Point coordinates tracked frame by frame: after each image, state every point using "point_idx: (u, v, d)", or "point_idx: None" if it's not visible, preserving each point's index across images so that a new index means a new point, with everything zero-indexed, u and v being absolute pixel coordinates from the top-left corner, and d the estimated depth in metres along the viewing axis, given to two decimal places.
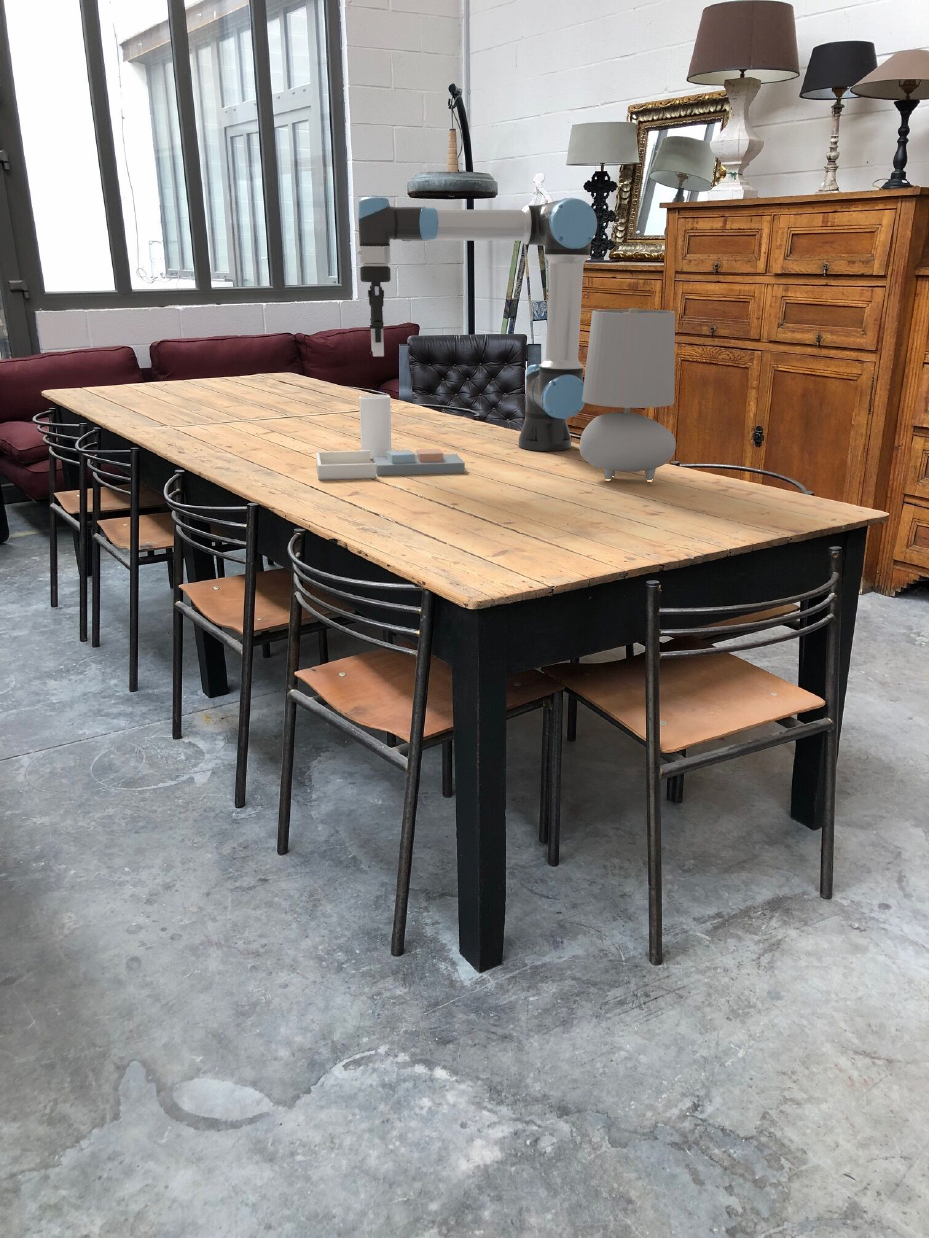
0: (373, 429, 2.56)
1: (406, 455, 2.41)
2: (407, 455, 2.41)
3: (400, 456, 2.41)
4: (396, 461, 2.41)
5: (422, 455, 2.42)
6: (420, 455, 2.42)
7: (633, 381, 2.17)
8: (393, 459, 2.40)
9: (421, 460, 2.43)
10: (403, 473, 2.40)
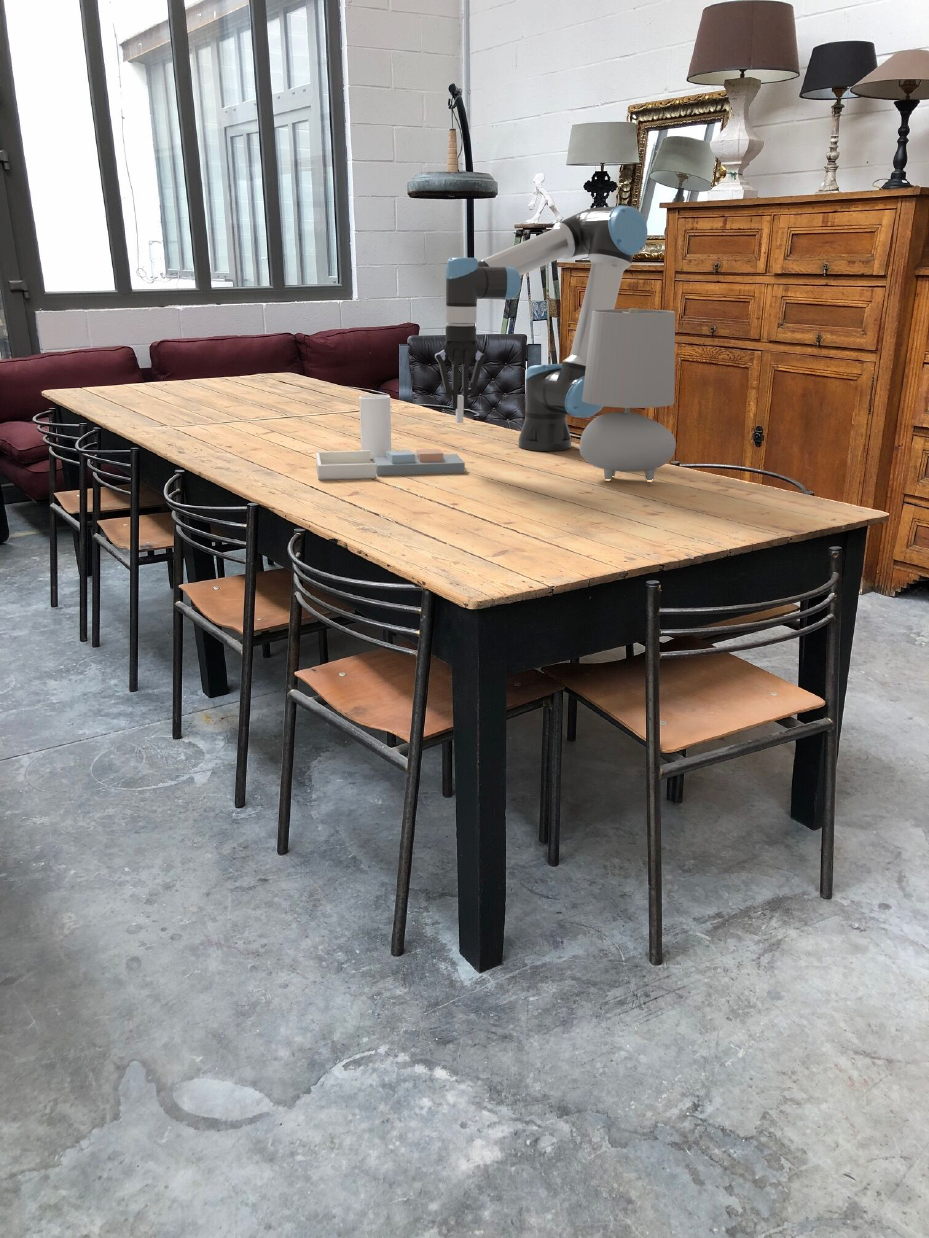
0: (373, 429, 2.56)
1: (406, 455, 2.41)
2: (407, 455, 2.41)
3: (400, 456, 2.41)
4: (396, 461, 2.41)
5: (422, 455, 2.42)
6: (420, 455, 2.42)
7: (633, 381, 2.17)
8: (393, 459, 2.40)
9: (421, 460, 2.43)
10: (403, 473, 2.40)
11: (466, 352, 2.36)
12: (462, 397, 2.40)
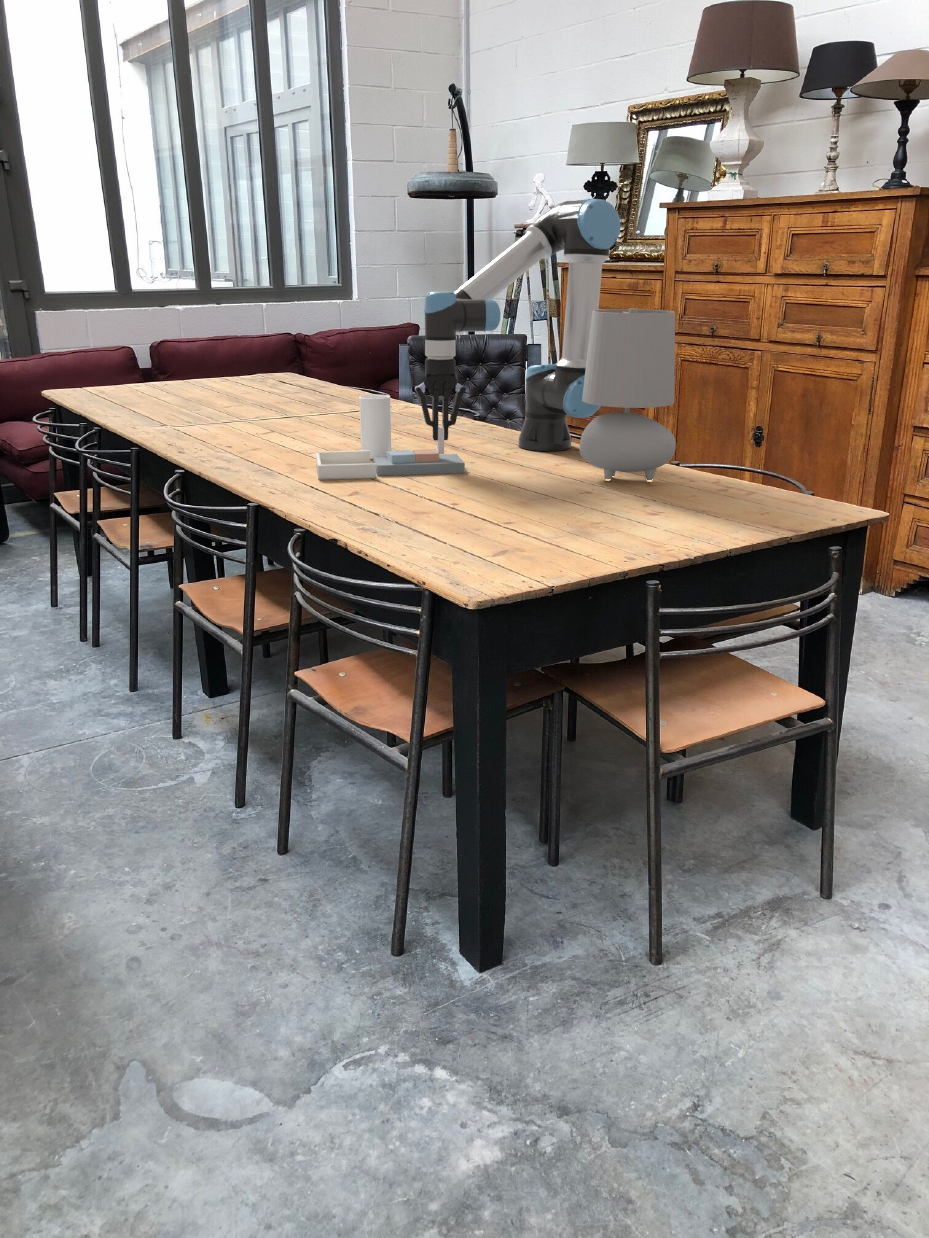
0: (373, 429, 2.56)
1: (406, 455, 2.41)
2: (407, 455, 2.41)
3: (400, 456, 2.41)
4: (396, 461, 2.41)
5: (418, 455, 2.42)
6: (416, 455, 2.42)
7: (633, 381, 2.17)
8: (393, 459, 2.40)
9: (417, 460, 2.42)
10: (403, 473, 2.40)
11: (446, 385, 2.38)
12: (442, 429, 2.42)
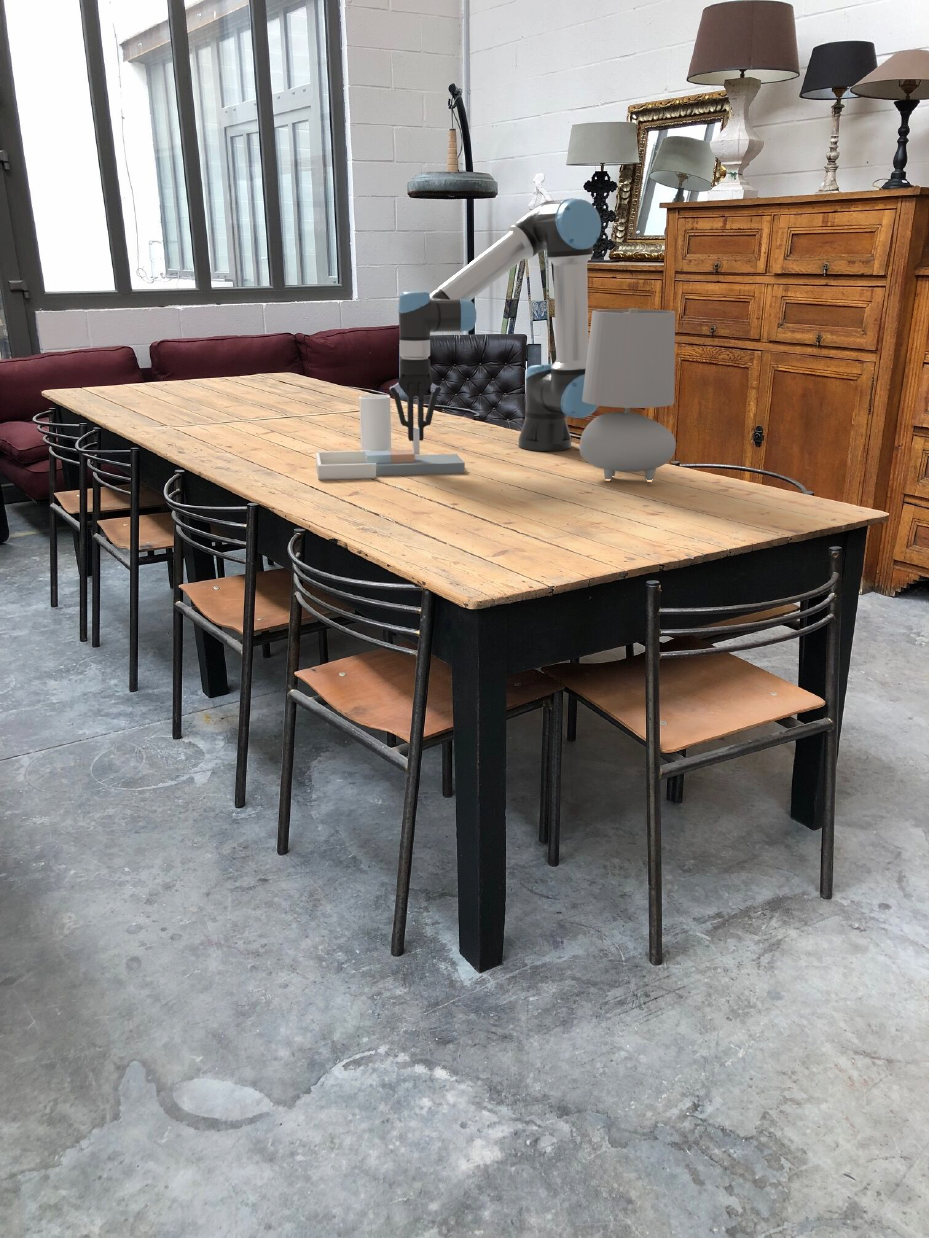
0: (373, 429, 2.56)
1: (381, 456, 2.40)
2: (382, 456, 2.40)
3: (375, 456, 2.40)
4: (371, 461, 2.40)
5: (393, 456, 2.41)
6: (391, 456, 2.41)
7: (633, 381, 2.17)
8: (368, 459, 2.40)
9: (392, 461, 2.41)
10: (403, 473, 2.40)
11: (420, 385, 2.37)
12: (418, 429, 2.41)
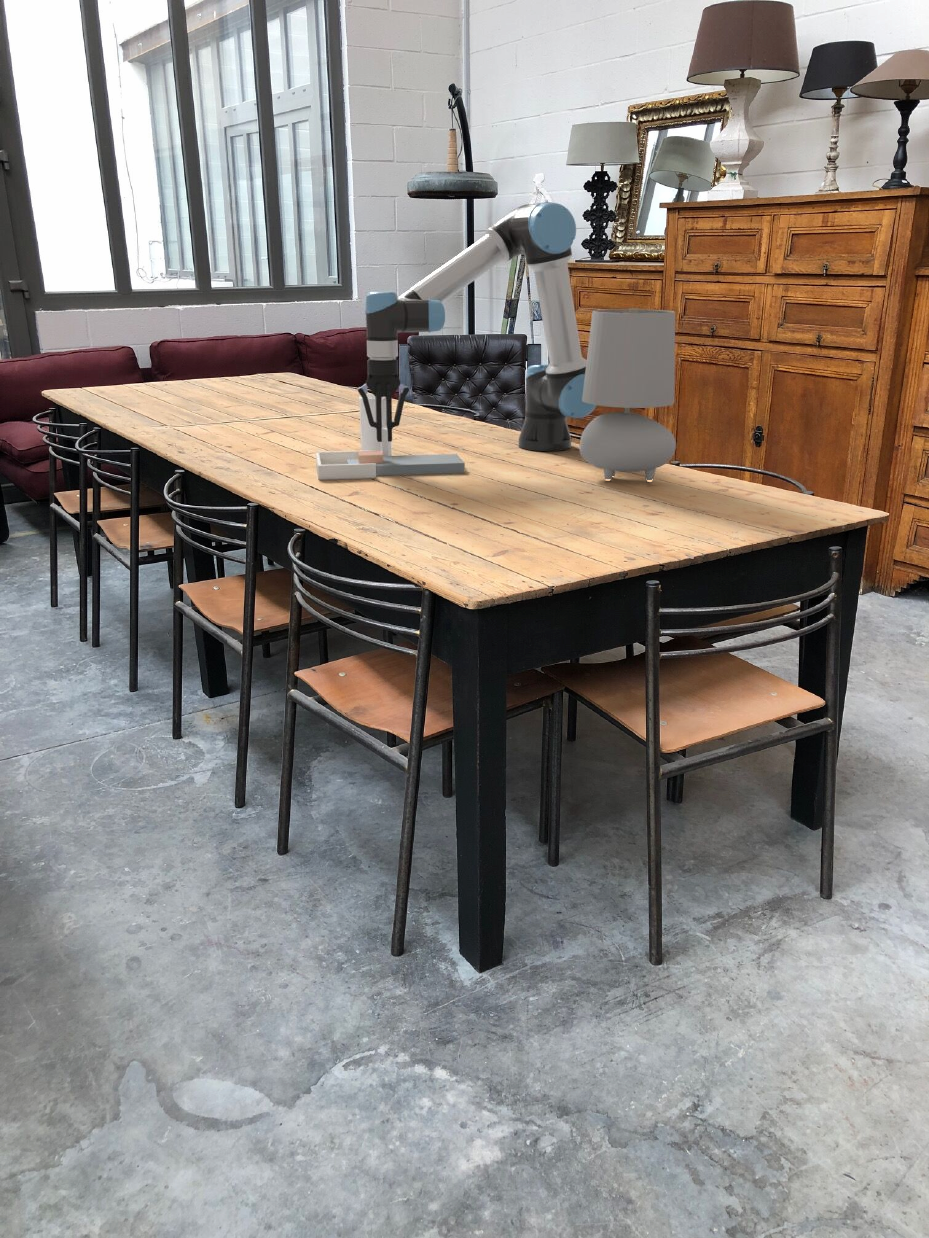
0: (373, 429, 2.56)
1: None
2: None
3: None
4: None
5: (361, 457, 2.40)
6: (359, 457, 2.40)
7: (633, 381, 2.17)
8: None
9: (361, 462, 2.40)
10: (403, 473, 2.40)
11: (388, 385, 2.36)
12: (386, 430, 2.40)
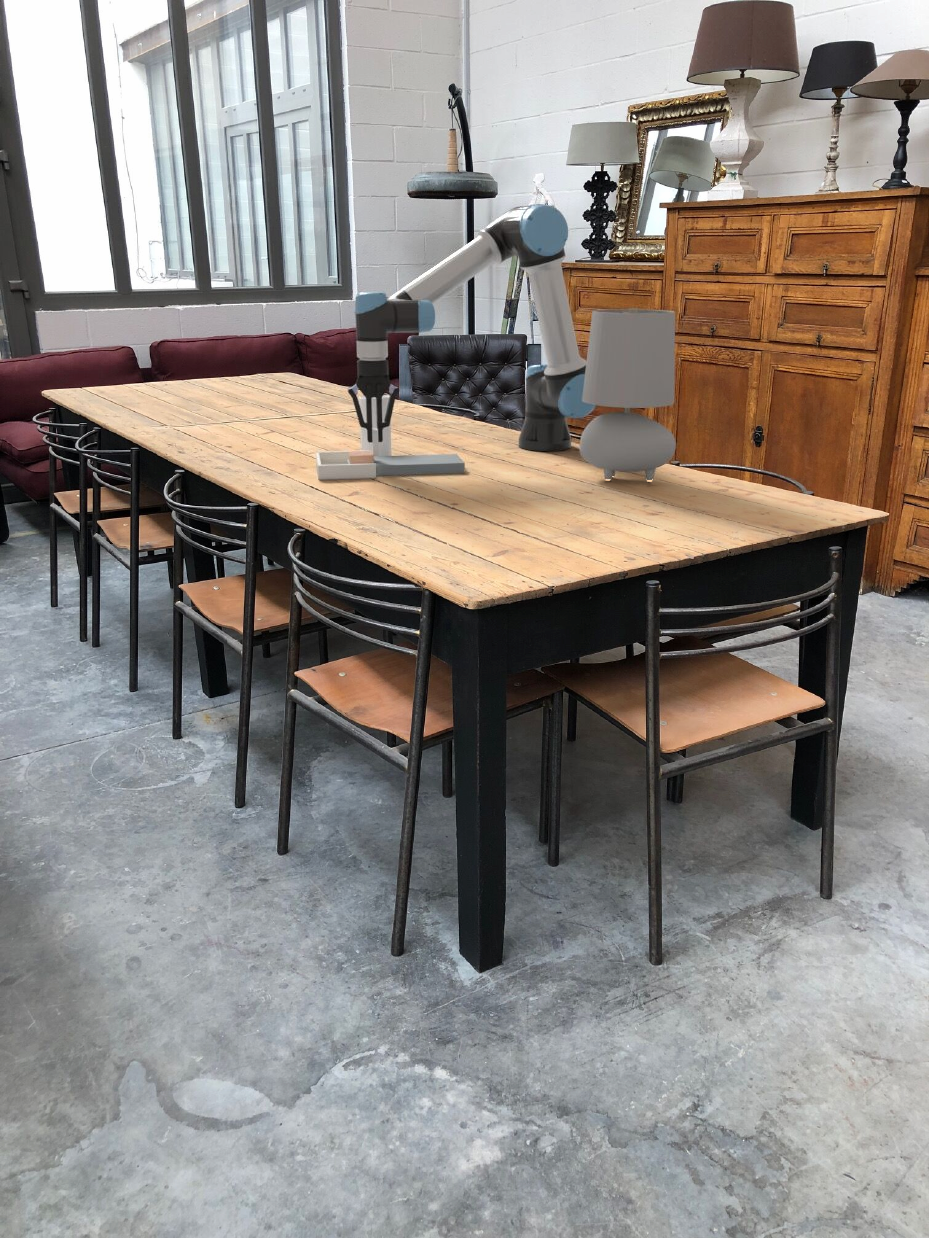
0: None
1: None
2: None
3: None
4: None
5: (352, 457, 2.39)
6: (350, 457, 2.39)
7: (633, 381, 2.17)
8: None
9: (351, 462, 2.40)
10: (403, 473, 2.40)
11: (378, 386, 2.35)
12: (376, 431, 2.40)
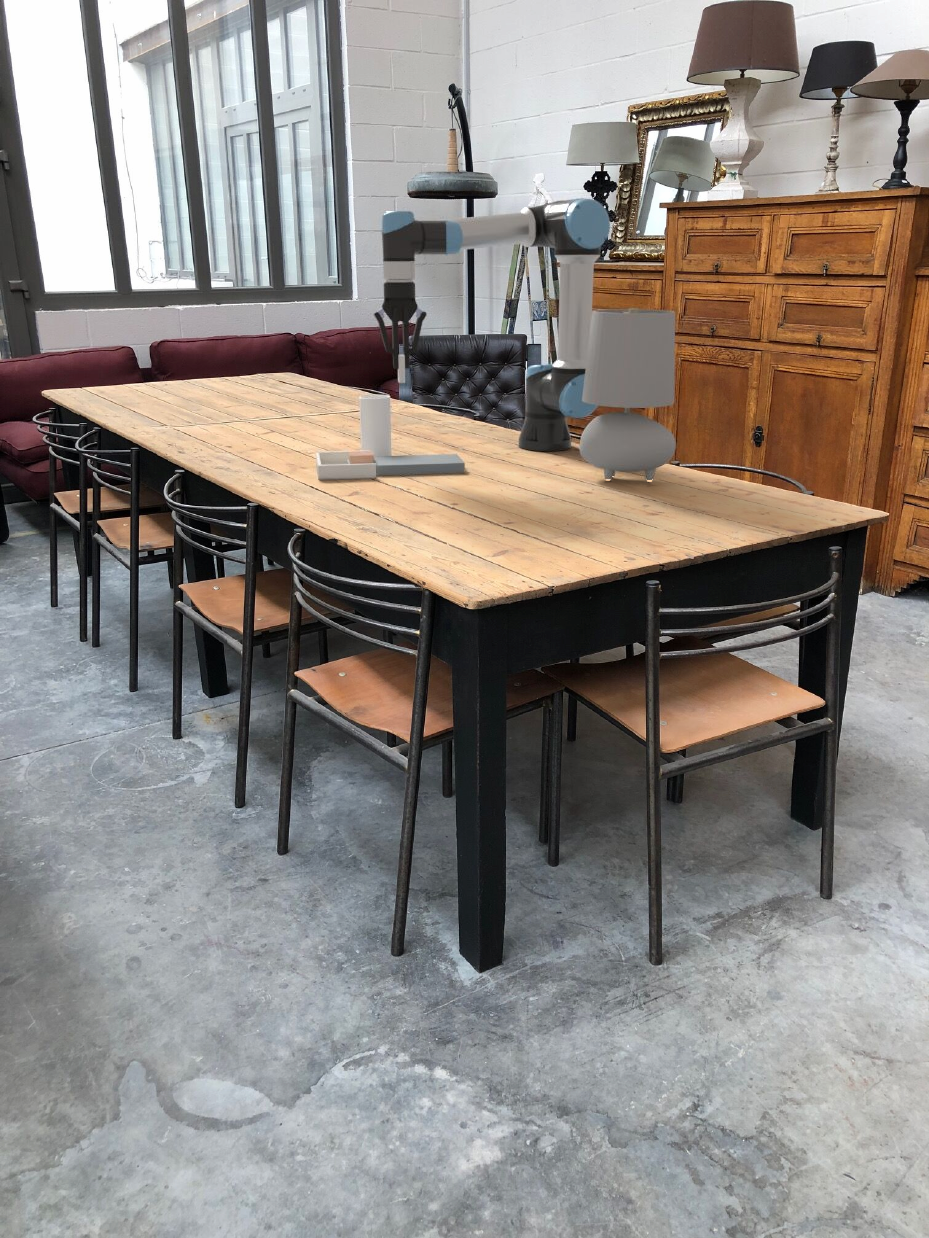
0: (373, 429, 2.56)
1: None
2: None
3: None
4: None
5: (352, 457, 2.39)
6: (350, 457, 2.39)
7: (633, 381, 2.17)
8: None
9: (351, 462, 2.40)
10: (403, 473, 2.40)
11: (405, 309, 2.30)
12: (403, 356, 2.35)
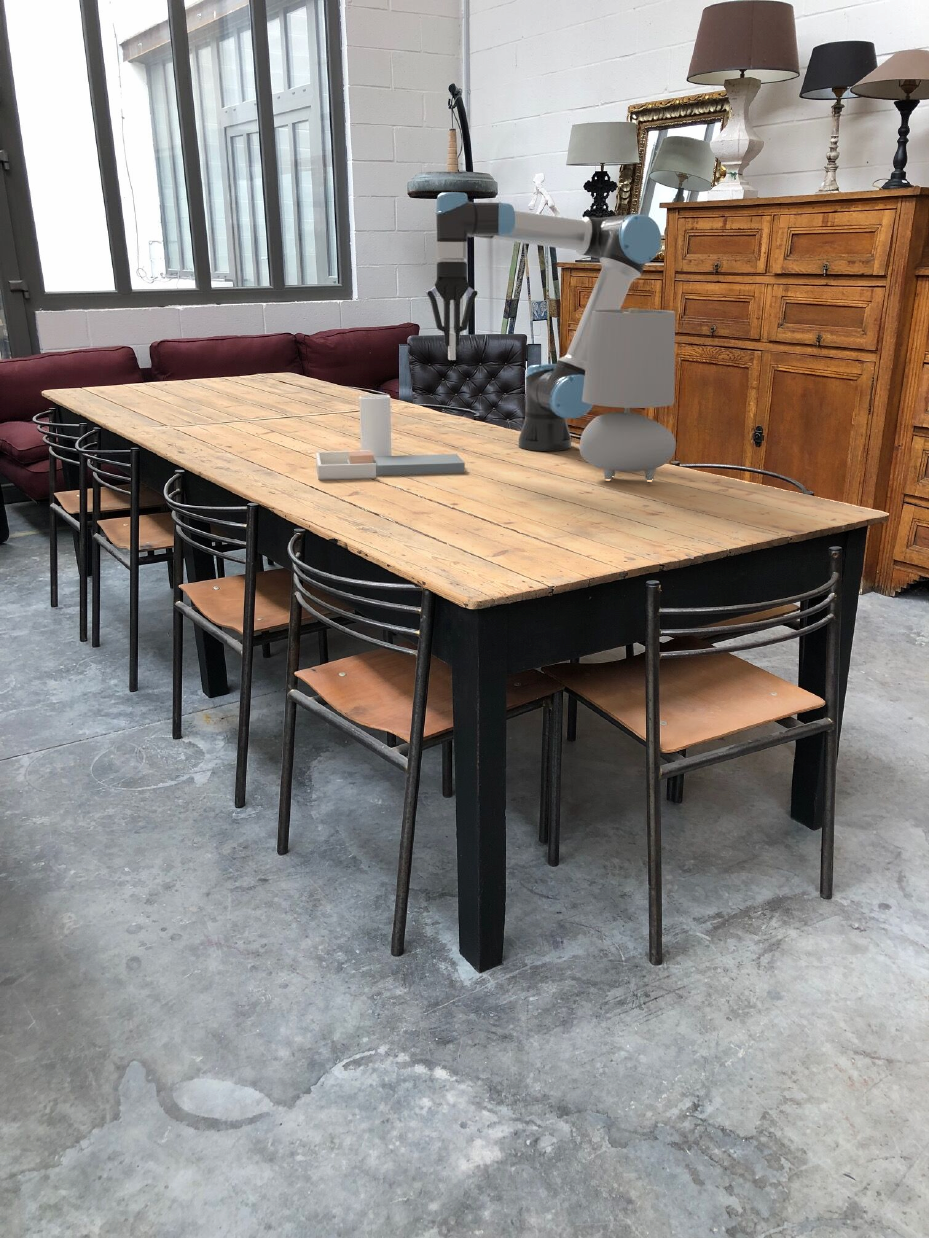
0: (373, 429, 2.56)
1: None
2: None
3: None
4: None
5: (352, 457, 2.39)
6: (350, 457, 2.39)
7: (633, 381, 2.17)
8: None
9: (351, 462, 2.40)
10: (403, 473, 2.40)
11: (457, 288, 2.38)
12: (454, 334, 2.43)
